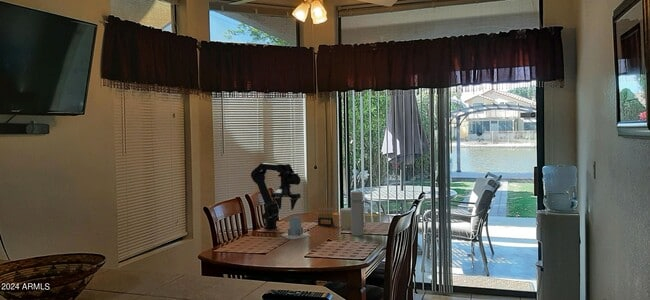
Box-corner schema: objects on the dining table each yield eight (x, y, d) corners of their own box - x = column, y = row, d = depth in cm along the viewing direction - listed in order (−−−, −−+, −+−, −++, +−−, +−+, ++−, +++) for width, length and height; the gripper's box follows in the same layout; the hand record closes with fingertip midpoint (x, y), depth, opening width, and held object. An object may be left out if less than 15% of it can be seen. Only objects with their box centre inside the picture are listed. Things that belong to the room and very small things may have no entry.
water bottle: (348, 235, 276) (347, 192, 275) (354, 233, 283) (353, 191, 282) (363, 237, 272) (362, 193, 271) (369, 234, 279) (368, 191, 278)
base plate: (281, 236, 280) (281, 228, 280) (299, 233, 287) (299, 225, 287) (291, 239, 270) (291, 231, 270) (309, 236, 277) (309, 228, 277)
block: (289, 234, 279) (289, 217, 279) (297, 233, 282) (296, 216, 282) (293, 235, 275) (293, 218, 275) (301, 234, 278) (301, 217, 278)
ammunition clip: (334, 225, 309) (333, 207, 309) (333, 226, 307) (332, 207, 307) (318, 224, 313) (318, 206, 312) (317, 225, 311) (317, 206, 311)
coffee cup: (358, 227, 300) (357, 208, 299) (348, 230, 293) (348, 210, 293) (346, 226, 306) (346, 207, 306) (337, 228, 299) (336, 209, 299)
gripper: (265, 185, 294) (265, 210, 294) (290, 186, 284) (290, 212, 285) (276, 183, 303) (276, 207, 304) (300, 184, 294) (301, 209, 294)
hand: (286, 209), depth 296 cm, fingers open, 9 cm apart
